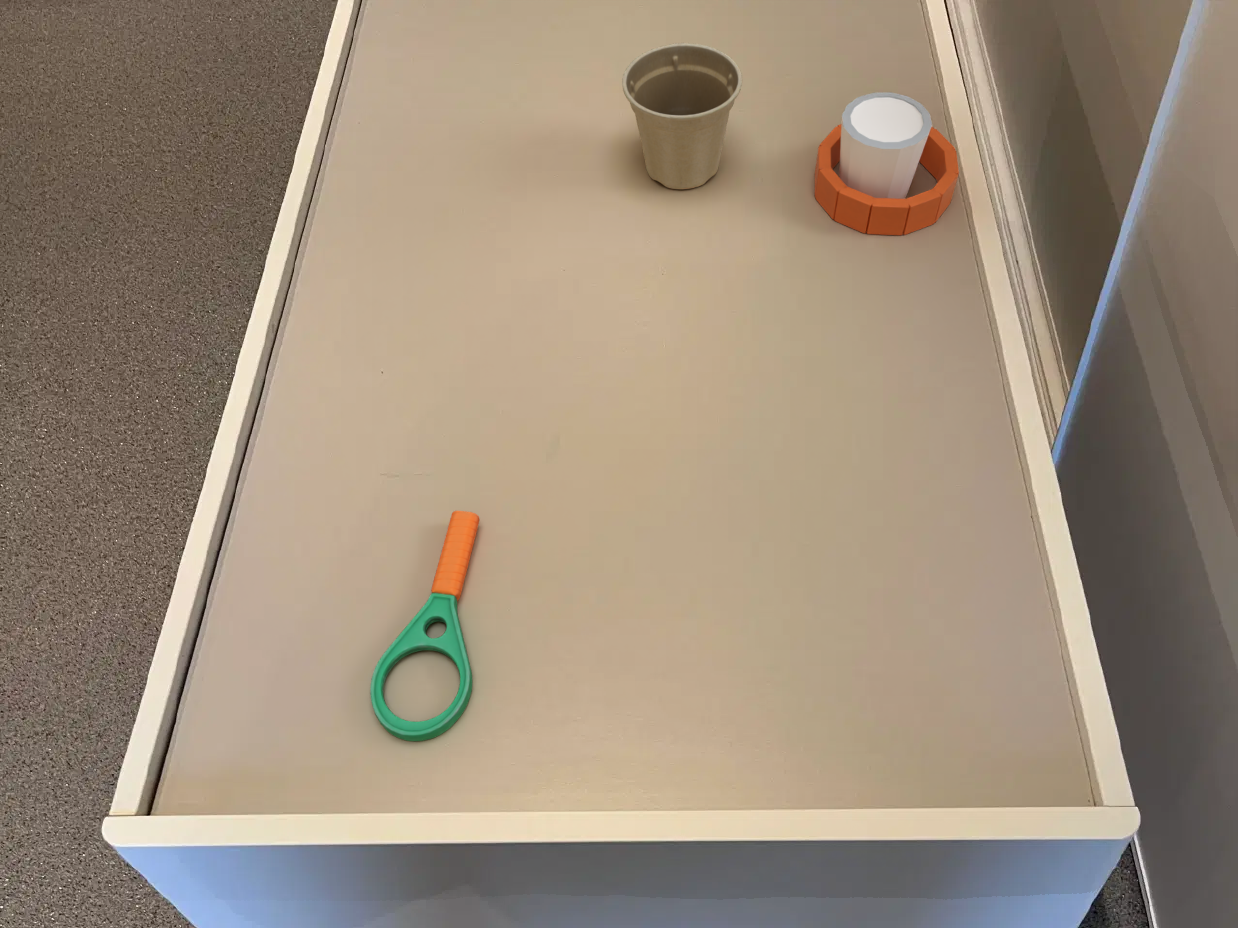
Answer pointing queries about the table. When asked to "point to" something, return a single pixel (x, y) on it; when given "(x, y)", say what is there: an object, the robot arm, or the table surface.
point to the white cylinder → (882, 143)
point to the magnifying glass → (450, 643)
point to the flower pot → (682, 109)
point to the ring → (886, 212)
